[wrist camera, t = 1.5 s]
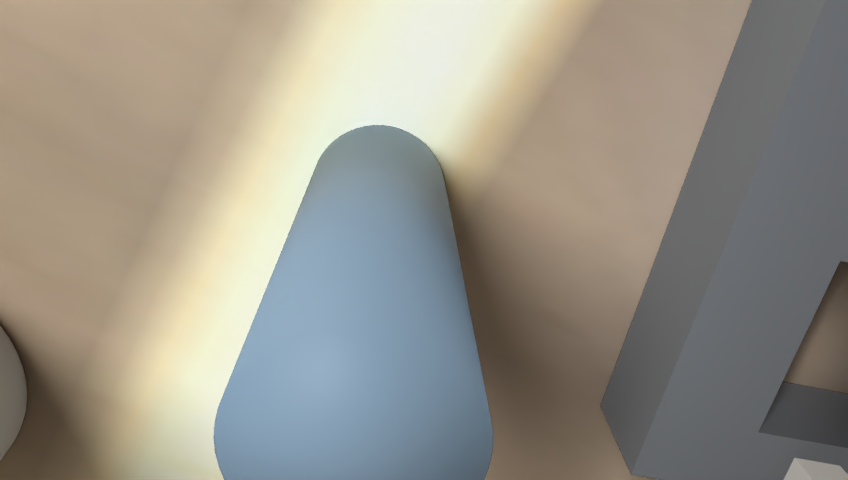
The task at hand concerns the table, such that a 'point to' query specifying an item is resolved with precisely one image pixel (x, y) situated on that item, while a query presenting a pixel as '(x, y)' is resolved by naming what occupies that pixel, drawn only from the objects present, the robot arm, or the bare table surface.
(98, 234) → the table surface
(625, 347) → the socket
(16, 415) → the mug
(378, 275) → the peg
